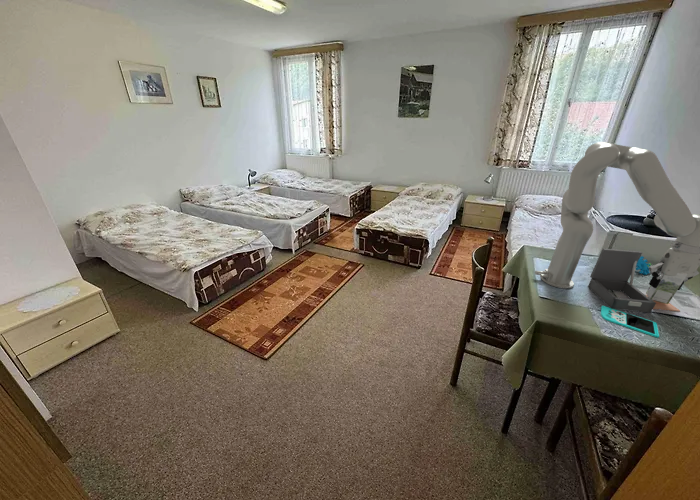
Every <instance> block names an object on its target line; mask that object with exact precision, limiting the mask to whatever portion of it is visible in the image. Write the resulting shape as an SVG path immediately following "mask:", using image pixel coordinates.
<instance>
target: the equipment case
mask: <svg viewBox="0 0 700 500" xmlns="http://www.w3.org/2000/svg"><path fill="white" fill-rule="evenodd" d="M642 254H643V252H642V251H638V250H627V249H626V250H625V249H613V248H602V249H601V251H600V254H599V256H598V258H597V260H596V263H595V265H594V267H593V269H592V272H591V274H590V275H589V277H590V281H589V282H588V285H587V288H588V289H590V290H591V291H592V292H593V293H594V294H595V295H596V296H597V297H598V298H599V299H600V300H601V301H603V303H604V304H605V305H606V306H607V307H609V308H612V309H615V310H622V311H631V312H642V313H650V314H651V312H652V311H653V310H654V309H653V308H654V306H655V304H656V303H655V302H654V301H653V300H651V299H650V298H649V297H647V296H646V295H647V294H646V293H643V292H642V291H641V290H639V289H638V288H637V287H635V286H634V285H633V282H634V277H635V273H636V268H637V267H636V264H637V262H638V260H639V258H640V257H641V256H642ZM629 279H630V280H629ZM611 291H615V292H617V291H618V292H622V293H623V294H624V295H625V296H627V297H628V298H623V297H617V296H616V295H614V293H613V292H611Z"/></svg>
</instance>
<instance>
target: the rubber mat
mask: <svg viewBox="0 0 700 500" xmlns="http://www.w3.org/2000/svg"><path fill="white" fill-rule="evenodd" d="M645 295H646V296H647V294H645ZM647 297H648V296H647ZM654 302H655V303H656V304H655V306H654V308H653V309H652V310H659V309H661V311H668V310H669V311H670V312H678V311H679V312H681V310H680V309H678V308H677V307H676V306H674V305H673V304H672V303H670V302H669V304H665V303H661V302H657V301H654ZM679 312H678V313H679Z"/></svg>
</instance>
